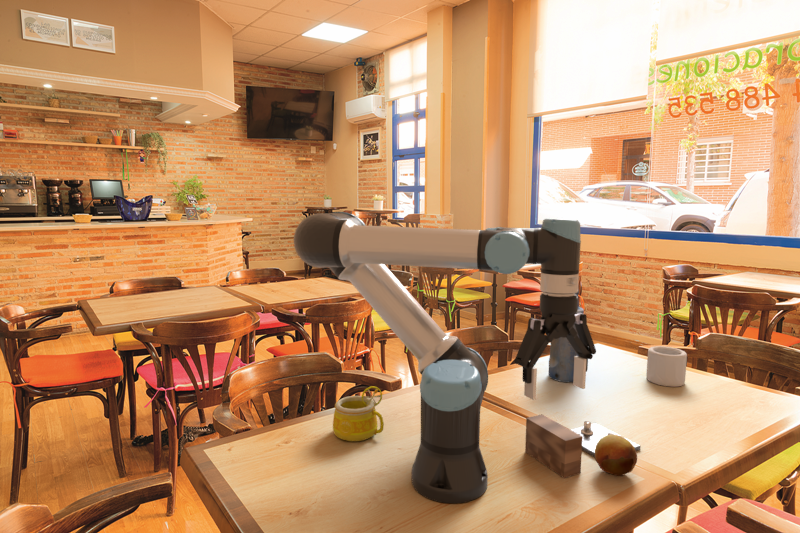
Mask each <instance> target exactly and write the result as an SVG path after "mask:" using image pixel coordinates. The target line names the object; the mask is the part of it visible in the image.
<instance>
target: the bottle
mask: <svg viewBox="0 0 800 533" xmlns="http://www.w3.org/2000/svg"><path fill="white" fill-rule="evenodd" d="M579 291H580V289H578V292H577V293H575V294H576V295H577V296H578V297H579V293H580V292H579ZM577 312H578V313H582V314H585V313H584V312H585V311H584V308H583V307H580V306H579V300H578V310H577ZM573 328H574V329H575V331H576V332H577V330H576V327H575V324H574V325H573ZM577 336H578V333H577ZM578 337H579V336H578ZM579 339H580V338H579ZM549 347H550V349H549V358H548V359H549V360H548V377H549V378H551V379H552V380H554V381H558V382H561V381H562V382H563V383H573V378H574V356H579V355H578V354H577V353H576V351H575V350H574V348H573V347H572V345H571V344H570V343H569V341H568V340H567V338H566V337H565V338H563V337H560V338H558V339H553V341H552V342H550V346H549Z"/></svg>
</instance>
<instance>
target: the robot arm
mask: <svg viewBox="0 0 800 533" xmlns="http://www.w3.org/2000/svg"><path fill="white" fill-rule="evenodd" d="M581 243H582V241H581V222H580V221H579V220H577V219H576V218H563V217H561V218H558V217H557V218H550V217H549V218H544V219H543V220H542V224H541V226H540V227H533V228H532V227H531V228H530V227H528V228H527V227H503V226H502V227H501V226H497V227H487V228H486V229H468V228H467V229H465V228H464V229H461V228H442V227H440V228H438V227H435V228H434V227H410V226H389V225H388V226H386V225H385V226H383V225H366V224H365V222H364V221H363V220H362V219H361V218H359V217H358V216H356V215H354V214H352V213H349V212H346V211H345V212H344V211H333V212H330V213H329V212H327V213H326V212H323V213H321V212H320V213H313V214H311V215H309V216H307V217H305V218H304V219H302V220H301V221H300V223H298V225H297V227H296V229H295V231H294V235H293V244H294V250H295V252H296V254H297V256H298V257H299V258H300V260H302V261H303V262H304V263H305V264H307V265H309V266H311V267H313V268H318V269H319V268H320V269H321V268H322V269H323V268H324V269H325V268H328V269H330V271H331V272H332V273H333V274H334V276H336V277H337V279H338V280H340V281H348V282H349V283H351V285H352V286H353V287H354V288H355V289H356V290H357V292H358V293H359V294H360V296H362V297H363V299H364V300H365V301H366V302H367V303H368V304H369V306H371V307H372V309H373V310H374V311H375V312H376V314H377V315H378V316H379V317H380V318H381V319H382V320H383V322H385V324H386V325H387V327H389V329H390V330H391V331H392V332H393V333H394V334H395V335H396V337H397V338H398V339H399V340H400V341H401V343H403V345H404V346H405V347H406V348H407V350H409V352H411V353H410V354H412V355H413V357H415V358H416V360H417V362H418V365H417V366H418V367H417V368H418V373H419V374H421V378H420V383H419V392H420V443H419V448H418V450H417V453H416V455H415V459H414V462H413V464H412V467H411V484H412V487H413V488H414V490H415V491H417V493H418V494H420V495H421V496H422V497H423V498H424V497H425V498H426V499H429V500H432V501H435V502H439V503H443V504H462V503H467V502H471V501H473V500H476V499H478V498H480V497H481V496H482V495H484V494H485V492H486V490H487V488H488V475H489V474H488V470H487V466H486V464H485V461H484V458H483V454H482V451H481V448H480V433H481V432H480V428H481V427H480V426H481V407H482V402H483V400H484V395H485V391H487V390H486V389H487V388H488V384H489V371H488V367H487V364H486V361H485V360H484V358H483V357H482V355H481V354H480V353H479V352H478V351H477V350H475V349H473V348H471V347H467V346H466V345H465V344H464V343H463V341H462V340H460V339H459V337H458V336H455V335H447V334H446V332H444V330H443V329H442V328H441V327H440V326H439V325H438V323H437V322H436V321H435V320H434V319H433V318H432V316H430V314H429V313H428V312H427V311H426V310H425V309H424V308H423V307H422V305H421V304H420V303H419V301H417V299H416V298H415V297H414V296H413V295H412V294H411V292H410V291H409V290H408V289H407V288H406V287H405V286H404V285H403V283H402V282H401V281H400V280H399V279H398V278H397V277H396V276H395V274H393V272H392V271H391V270H390V269H389V268H388V267H387V266H388V265H389V266H406V267H407V266H408V267H409V266H410V267H411V266H412V267H425V268H445V269H447V268H449V269H465V270H482V271H493V272H496V273H499V274H502V275H510V274H514V273H517V272H518V271H520V270H521V269H522V268H523V267H525V265H540V284H539V285H540V286H539V290H540V291H541V293H540V294H539V310H540V312H541V317H540V318H539V319H537V318H533V317H530V318H528V322H527V328H526V331H525V334H524V336H523V339H522V341H521V343H520V346H519V348H518V351H517V354H516V356H515V358H514V364H516V365H518V366H521V367H522V381H523V382H524V387H523V388H524V391H523V392H524V394H523V395H524V396H525V397H526V398H528V399H530V400H537V379H538V377H537V374H538V373H537V372H538V368H537V367H535V365H536V364H537V362H538V361H539V360H540V357H541V356H542V354H543V353H544V351H545V350H546V348H547V346H548V345H549V343H551V342H552V341H553V339H558V338H560V337H563V338H565V337H566V338H567V340H568V341H569V343H570V344H571V345H572V347H573V348H574V350H575V351H576V353H577V354H578V355H579V356H574V378H573V382H572V383H573V384H572V385H573V386H574V387H576V388H579V389H582V390H584V389H586V380H587V378H586V376H587V372H588V366H589V364H588V363H589V360H592V359H593V357H594V355H595V354H596V353H597V349H596V346H595V343H594V341H593V337H592V335H591V333H590V330H589V326H588V320H587V318H588V316H587V314H585V313H584V314H582V313H578V312H577V310H578V301H579V295H578V296H577V295H576V294H575V293H577V292H578V290H579V282H580V281H579V279H580V278H579V275H580V259H581V258H580V257H581ZM574 324H575V327H576V330H577V332H576V331H575V329H574V328H573V325H574ZM577 333H578V336H579V337H578V336H577ZM579 338H580V339H579Z"/></svg>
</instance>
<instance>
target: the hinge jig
mask: <svg viewBox="0 0 800 533" xmlns="http://www.w3.org/2000/svg"><path fill="white" fill-rule="evenodd" d="M569 429H570V428H569ZM570 430H572V431H573V432H575V433H577V434H579V435H581V436H582V452H584V453H587V454H588V455H590V456H591V457H594V458H595V448H596V445H597V443H598V441H599V440H600V439H601V438H603V437H604V436H607V435H619V436H622V435H620V434H619V433H616V432H614V431H613V430H611V429H609V428H606V427H604V426H603V425H601V424H598V423H597V422H594V423H592V421H587V420H585V421H583V426H578V427H575V428H572V429H570ZM622 437H623V438H625V439H626V440H628V441H629V442H630V443H631V444H632V445H633V446H634V448H635V450H636V452H637V451H640V450H641V445H640V444H638V443H636V442H634V441H633V440H630V439H629V438H627V437H625V436H622Z"/></svg>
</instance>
